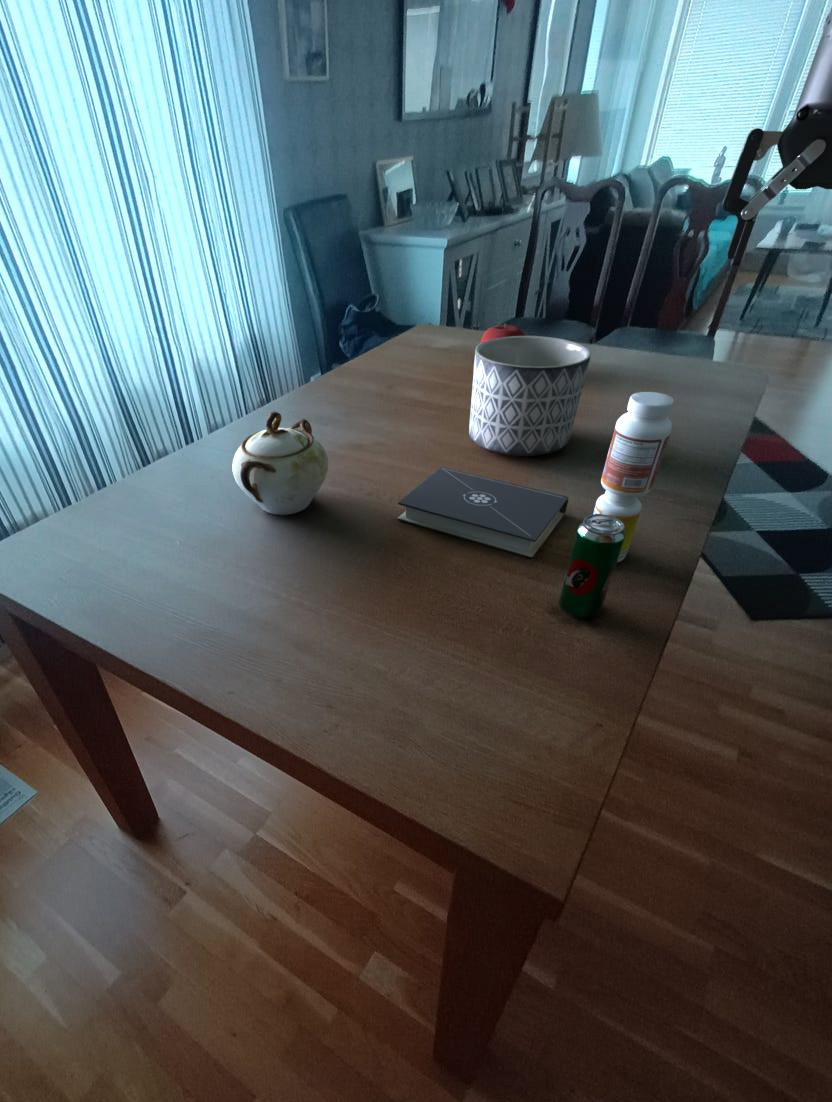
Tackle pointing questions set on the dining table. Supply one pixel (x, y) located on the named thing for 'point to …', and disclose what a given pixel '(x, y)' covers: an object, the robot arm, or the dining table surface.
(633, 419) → the pill bottle
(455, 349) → the dining table surface
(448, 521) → the book
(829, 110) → the robot arm
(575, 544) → the soda can
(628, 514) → the supplement bottle
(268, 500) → the sugar bowl
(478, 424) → the planter
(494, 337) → the apple
